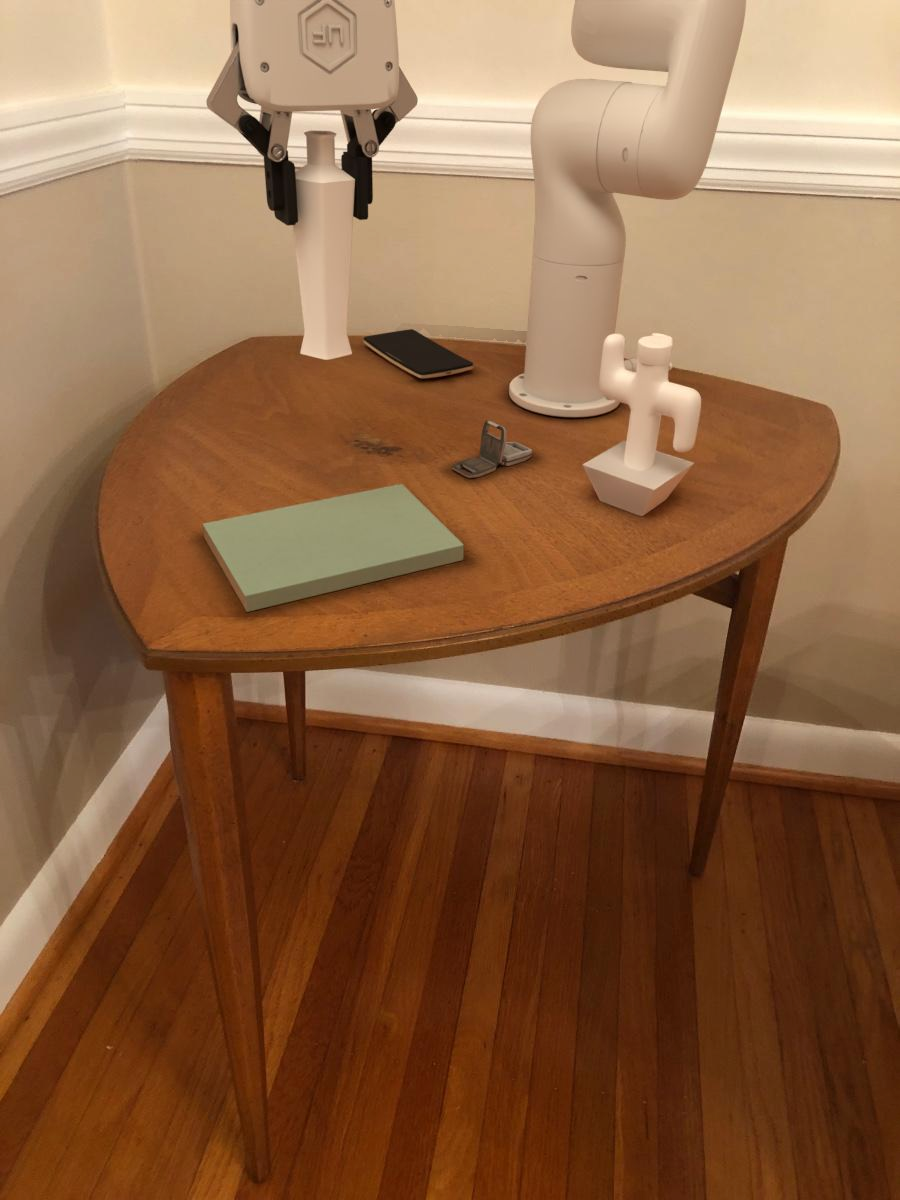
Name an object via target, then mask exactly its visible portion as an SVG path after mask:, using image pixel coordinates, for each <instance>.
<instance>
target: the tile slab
mask: <svg viewBox="0 0 900 1200" xmlns="http://www.w3.org/2000/svg"><path fill="white" fill-rule="evenodd" d="M202 531H203V537H204V540H205V543H206V544H207V545H208V547H209V550H210V551H211V552H212V554H213V556H214V557H215V560H216V561H217V563H218V565H219V566H220V568H221V570H222V572H223V573H224V575H225V577H226V579H227V580H228V582H229V584H230V586H231V587H232V589H233V591H234V592H235V594H236V596H237V598H238V599H239V602H240V603H241V604H242V606H243V608H244V610H245V612H246V613H250V612H253V611H259V610H262V609H266V608H271V607H275V606H279V605H283V604H287V603H291V602H296V601H299V600H305V599H308V598H312V597H316V596H317V597H318V596H320V595H325V594H328V593H333V592H337V591H341V590H346V589H350V588H353V587H358V586H362V585H366V584H370V583H374V582H379V581H383V580H387V579H391V578H394V577H399V576H403V575H408V574H411V573H416V572H421V571H424V570H429V569H433V568H437V567H441V566H444V565H445V566H446V565H449V564H453V563H458V562H462V561H464V555H465V554H464V553H465V552H464V551H465V544H464V543H463V542H462V541H461V540H460V539H459V538H458V537H457V536H456V535H455V534H454V533H453V532H452V531H451V530H450V529H449V528H448V527H446V525H445V524H444V523H443V522H442V521H441V520H440V519H439V518H437V516H435V515H434V514H433V512H431V510H430V509H429V508H428V507H426V505H424V504H423V503H422V502H421V501H420V500H419V499H418V497H416V496H415V495H414V494H413V493H412V492H411V491H410V490H409V489H408V488H407V487H406V486H405V485H404V484H403V483H399V484H394V485H388V486H383V487H378V488H373V489H369V490H364V491H359V492H353V493H349V494H345V495H344V494H343V495H338V496H333V497H328V498H323V499H319V500H313V501H309V502H304V503H298V504H293V505H289V506H284V507H278V508H273V509H268V510H263V511H258V512H252V513H249V514H243V515H238V516H233V517H227V518H223V519H218V520H213V521H208V522H204V523H202Z"/></svg>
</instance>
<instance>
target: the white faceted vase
mask: <svg viewBox="0 0 900 1200" xmlns="http://www.w3.org/2000/svg"><path fill="white" fill-rule="evenodd" d="M303 134H304V135H305V138H306V141H305V142H306V164H305V165H303V166H302V167H300V168H299V169H297V170H295V176H296V193H297V210H298V223H296V224H295V225H292V231H293V240H294V241H293V242H294V249H295V259H296V265H297V266H296V268H297V276H298V284H299V286H298V287H299V293H300V303H301V304H300V305H301V312H302V321H303V331H304V333H303V337H302V338H303V339H302V342H301V348H300V352H299V354H300V355H303V356H308V357H312V358H317V359H320V360H323V361H324V360H325V361H327V360H328V361H329V360H333V359H337V358H341V357H345V356H350V355H352V354H353V351H352V346H351V345H350V344H351V343H350V340H349V335H348V319H349V301H350V300H349V299H350V284H351V283H350V281H351V265H352V264H351V262H352V248H353V247H352V246H353V243H352V242H353V230H354V229H353V226H354V217H353V210H354V192H355V179H354V178H353V177H351V176H350V175H349V174H347V173H346V172H344V171H343V170H342V168H340V167H339V166H338V165H337V164H336V147H335V145H336V144H335V141H336V140H335V138H336V136H337V133H336V132H333V131H331V130H314V129H313V130H312V129H311V130H308V131H304V132H303Z"/></svg>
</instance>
